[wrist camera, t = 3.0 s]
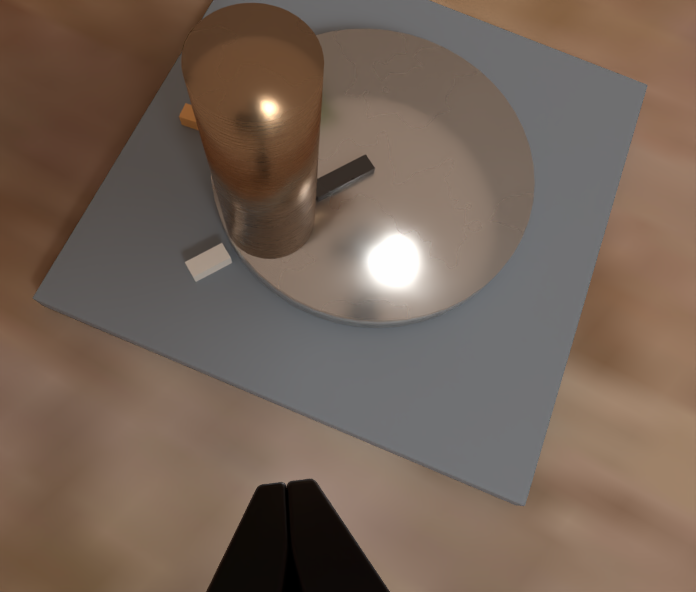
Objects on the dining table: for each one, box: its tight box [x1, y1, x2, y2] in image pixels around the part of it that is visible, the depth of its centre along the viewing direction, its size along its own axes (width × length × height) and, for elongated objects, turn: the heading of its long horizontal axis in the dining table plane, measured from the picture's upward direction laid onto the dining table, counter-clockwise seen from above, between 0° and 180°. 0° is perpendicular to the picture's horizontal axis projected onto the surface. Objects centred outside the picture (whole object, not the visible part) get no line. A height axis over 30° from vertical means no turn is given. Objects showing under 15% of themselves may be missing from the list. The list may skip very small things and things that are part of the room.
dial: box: [181, 3, 535, 328], centre depth 20 cm, size 13×13×10 cm
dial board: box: [33, 0, 647, 506], centre depth 26 cm, size 20×20×2 cm
